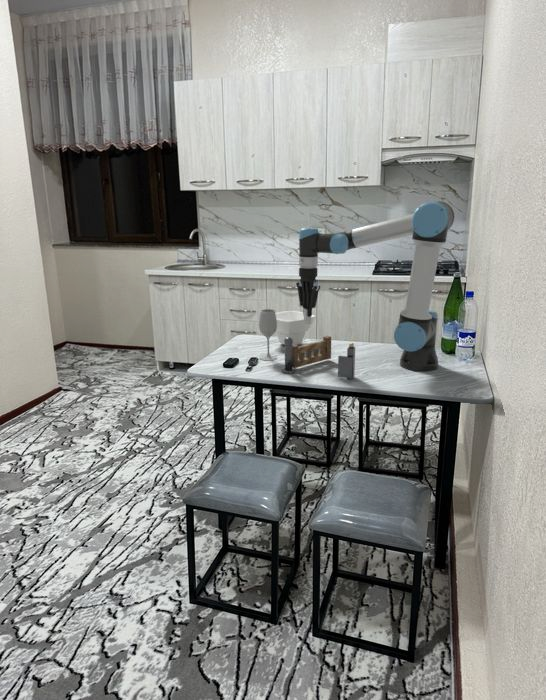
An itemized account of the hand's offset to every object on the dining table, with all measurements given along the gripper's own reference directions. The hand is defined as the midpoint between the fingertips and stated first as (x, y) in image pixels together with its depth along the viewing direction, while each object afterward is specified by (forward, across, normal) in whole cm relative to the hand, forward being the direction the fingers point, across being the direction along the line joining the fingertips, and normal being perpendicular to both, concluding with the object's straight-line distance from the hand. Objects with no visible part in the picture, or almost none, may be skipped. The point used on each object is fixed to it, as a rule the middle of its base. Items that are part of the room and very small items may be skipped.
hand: (307, 323), depth 218 cm
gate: (+15, +7, -3) cm, 17 cm away
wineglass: (+16, -12, -12) cm, 23 cm away
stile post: (+16, +27, -3) cm, 32 cm away
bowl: (+16, -24, +9) cm, 30 cm away
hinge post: (+16, +8, -15) cm, 23 cm away
